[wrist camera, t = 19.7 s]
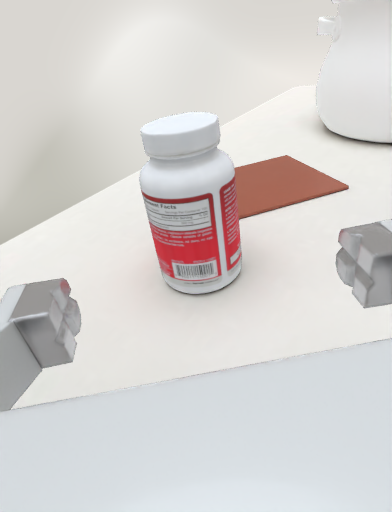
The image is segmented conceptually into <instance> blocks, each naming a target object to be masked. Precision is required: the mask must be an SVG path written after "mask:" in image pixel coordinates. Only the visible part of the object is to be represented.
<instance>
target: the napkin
mask: <svg viewBox="0 0 392 512" xmlns="http://www.w3.org/2000/svg"><path fill="white" fill-rule="evenodd" d="M234 170H235V179H236V192H237V205H238V217H239V219H241V218H244V217H248V216H251V215H255V214H259V213H262V212H266V211H269V210H273V209H277V208H280V207H284V206H287V205H291V204H295V203H298V202H302V201H305V200H309V199H313V198H316V197H320V196H323V195H327V194H331V193H334V192H338V191H341V190H345V189H348V187H349V186H348V185H346V184H344V183H342V182H340V181H338V180H336V179H334V178H332V177H330V176H328V175H326V174H324V173H322V172H320V171H318V170H316V169H314V168H312V167H310V166H308V165H306V164H304V163H301V162H299V161H297V160H295V159H293V158H291V157H289V156H287V155H285V156H281V157H277V158H273V159H269V160H265V161H261V162H257V163H253V164H249V165H245V166H241V167H237V168H234Z"/></svg>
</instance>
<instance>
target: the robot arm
mask: <svg viewBox="0 0 392 512" xmlns="http://www.w3.org/2000/svg"><path fill="white" fill-rule="evenodd" d="M338 242H339V243H340V245H341V246H342V248H341V249H340V250H339V252H338V253H337V254H336V267H337V272H338V274H339V277H340V278H341V280H342V281H343V282H344V284H346V285H349V286H351V287H353V290H352V294H353V295H354V296H355V298H356V299H357V300H358V301H359V303H360V304H361V305H362V306H363V308H369V307H376V306H382V305H388V304H392V219H388V220H384V221H379V222H375V223H371V224H365V225H360V226H355V227H350V228H345V229H341V231H340V233H339V239H338ZM70 291H71V288H70V286H69V284H68V282H67V280H65V279H64V278H60V279H54V280H48V281H41V282H35V283H29V284H22V285H17V286H12V287H10V288H8V289H7V291H6V293H5V294H4V296H3V298H2V300H1V302H0V512H392V338H390V339H385V340H380V341H374V342H369V343H364V344H358V345H353V346H347V347H342V348H337V349H331V350H326V351H321V352H315V353H310V354H304V355H299V356H294V357H288V358H283V359H278V360H272V361H267V362H262V363H257V364H251V365H246V366H241V367H235V368H230V369H225V370H219V371H214V372H209V373H204V374H198V375H193V376H188V377H182V378H177V379H172V380H167V381H161V382H156V383H151V384H145V385H140V386H135V387H129V388H124V389H119V390H113V391H108V392H103V393H97V394H92V395H87V396H81V397H76V398H71V399H65V400H60V401H55V402H49V403H44V404H39V405H33V406H28V407H23V408H17V409H12V410H10V409H11V408H12V407H13V405H14V404H15V403H16V402H17V400H18V399H19V398H20V397H21V396H22V394H23V393H24V392H25V391H26V389H27V388H28V387H29V386H30V385H31V383H32V382H33V381H34V380H35V378H36V377H37V376H38V375H39V374H40V372H41V371H42V369H43V368H47V367H52V366H57V365H61V364H66V363H71V362H73V358H74V354H75V349H76V345H77V343H76V341H75V339H74V337H75V336H76V335H77V334H78V333H79V332H80V327H81V314H80V310H79V307H78V304H77V302H76V301H75V300H74V299H72V298H71V297H69V295H70Z"/></svg>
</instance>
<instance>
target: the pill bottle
mask: <svg viewBox="0 0 392 512" xmlns="http://www.w3.org/2000/svg"><path fill="white" fill-rule="evenodd" d="M141 136H142V141H143V145H144V149H145V154H146V155H147V156H149V157H150V160H149V161H148V162H147V163H146V164H145V165H144V166H143V168H142V170H141V172H140V177H139V181H140V186H141V191H142V195H143V199H144V203H145V207H146V211H147V215H148V220H149V224H150V228H151V232H152V236H153V240H154V244H155V248H156V252H157V256H158V260H159V264H160V268H161V272H162V275H163V278H164V280H165V281H166V282H167V284H168V285H170V286H171V287H172V288H174V289H176V290H178V291H181V292H184V293H189V294H200V293H207V292H212V291H215V290H218V289H220V288H222V287H224V286H226V285H228V284H229V283H231V282H232V281H233V280H234V279H235V278H236V277H237V275H238V274H239V272H240V270H241V265H242V256H241V243H240V230H239V217H238V205H237V192H236V179H235V170H234V164H233V161H232V160H231V158H230V157H229V156H228V155H227V154H226V153H225V152H224V151H222V150H220V149H217V145H218V144H219V142H220V129H219V121H218V117H217V115H215V114H212V113H208V112H191V113H182V114H176V115H171V116H167V117H163V118H160V119H157V120H154V121H152V122H150V123H148V124H146V125H144V126H143V127H142V128H141Z"/></svg>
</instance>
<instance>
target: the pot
mask: <svg viewBox="0 0 392 512" xmlns="http://www.w3.org/2000/svg"><path fill="white" fill-rule="evenodd" d="M331 1H332V3H339V5H338V15H337V16H336V17H330V16H326V17H320V18H319V22H318V29H317V35H332V40H333V41H332V44H331V46H330V49H329V51H328V53H327V56H326V58H325V60H324V63H323V65H322V67H321V70H320V74H319V79H318V83H317V86H316V106H317V110H318V113H319V117H320V118H321V120H322V121H323V122H324V124H325V125H326V127H327V128H328V129H330V130H331V131H333V132H335V133H337V134H340V135H343V136H345V137H349V138H353V139H357V140H364V141H371V142H382V143H392V0H331Z"/></svg>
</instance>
